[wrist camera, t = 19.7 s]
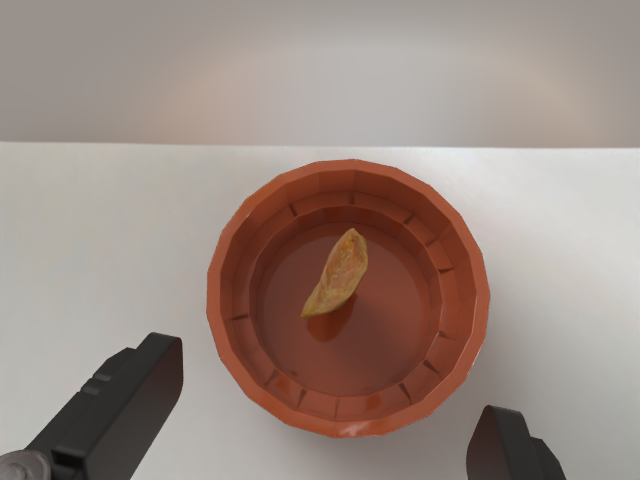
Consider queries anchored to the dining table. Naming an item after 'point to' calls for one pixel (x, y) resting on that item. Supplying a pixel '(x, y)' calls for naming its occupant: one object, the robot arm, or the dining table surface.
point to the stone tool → (339, 276)
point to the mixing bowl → (361, 308)
